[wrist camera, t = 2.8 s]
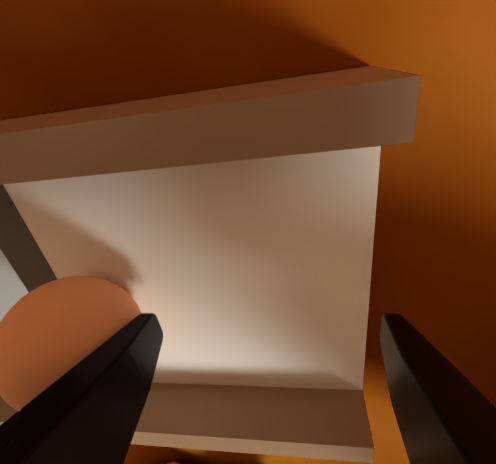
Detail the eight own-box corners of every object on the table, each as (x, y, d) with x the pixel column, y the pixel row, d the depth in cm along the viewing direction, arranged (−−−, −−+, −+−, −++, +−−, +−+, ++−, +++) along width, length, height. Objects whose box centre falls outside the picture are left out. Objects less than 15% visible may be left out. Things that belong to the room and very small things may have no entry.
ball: (146, 253, 9) (35, 375, 6) (181, 340, 11) (112, 465, 8) (47, 247, 10) (-89, 345, 7) (95, 326, 12) (6, 430, 9)
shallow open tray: (370, 65, 8) (434, 77, 4) (354, 371, 13) (375, 480, 10) (-183, 147, 11) (-397, 191, 8) (-2, 362, 17) (-77, 440, 14)
